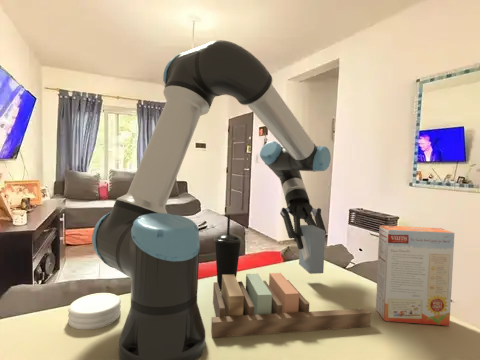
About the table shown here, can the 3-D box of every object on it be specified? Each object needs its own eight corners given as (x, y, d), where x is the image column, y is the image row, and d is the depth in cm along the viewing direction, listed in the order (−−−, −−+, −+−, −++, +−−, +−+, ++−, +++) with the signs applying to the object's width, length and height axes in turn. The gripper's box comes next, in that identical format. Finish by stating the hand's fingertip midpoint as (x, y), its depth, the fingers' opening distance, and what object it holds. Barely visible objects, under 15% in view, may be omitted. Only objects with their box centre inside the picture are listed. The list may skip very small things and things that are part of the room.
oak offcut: (228, 330, 59) (229, 296, 59) (221, 302, 71) (222, 274, 71) (242, 329, 60) (243, 295, 59) (233, 302, 71) (234, 274, 71)
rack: (212, 337, 56) (213, 312, 56) (206, 302, 70) (207, 282, 70) (370, 326, 62) (371, 303, 62) (335, 296, 77) (336, 278, 76)
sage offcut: (256, 328, 60) (258, 295, 60) (245, 301, 72) (246, 274, 72) (270, 327, 61) (272, 294, 61) (256, 301, 73) (257, 273, 72)
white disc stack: (104, 333, 56) (104, 315, 56) (56, 328, 57) (56, 311, 57) (128, 308, 66) (129, 293, 66) (88, 305, 67) (88, 290, 67)
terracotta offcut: (284, 326, 61) (285, 293, 61) (268, 300, 73) (269, 273, 73) (297, 325, 62) (299, 293, 62) (279, 300, 74) (280, 272, 73)
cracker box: (434, 313, 69) (440, 227, 68) (450, 327, 63) (457, 232, 62) (373, 308, 71) (378, 223, 70) (383, 321, 65) (389, 228, 64)
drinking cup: (228, 279, 86) (231, 212, 85) (245, 288, 80) (248, 216, 79) (206, 285, 81) (209, 214, 80) (223, 295, 75) (226, 218, 74)
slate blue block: (309, 273, 81) (311, 231, 80) (298, 264, 88) (300, 225, 88) (323, 273, 81) (325, 230, 81) (311, 263, 89) (313, 225, 89)
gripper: (315, 202, 102) (337, 263, 87) (268, 201, 99) (282, 265, 84) (323, 188, 97) (347, 251, 81) (274, 187, 94) (289, 252, 78)
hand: (314, 258), depth 82 cm, fingers closed on slate blue block, 4 cm apart
